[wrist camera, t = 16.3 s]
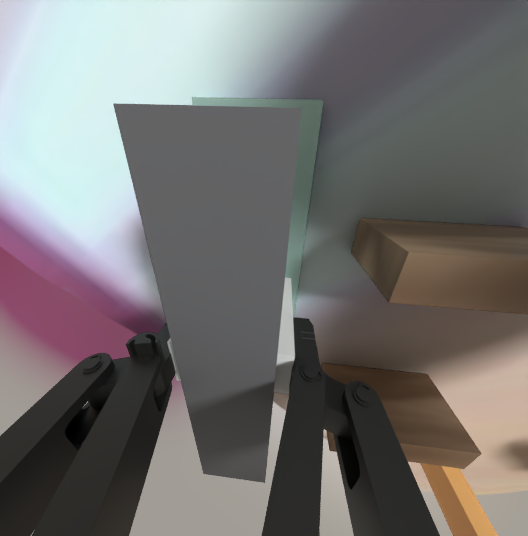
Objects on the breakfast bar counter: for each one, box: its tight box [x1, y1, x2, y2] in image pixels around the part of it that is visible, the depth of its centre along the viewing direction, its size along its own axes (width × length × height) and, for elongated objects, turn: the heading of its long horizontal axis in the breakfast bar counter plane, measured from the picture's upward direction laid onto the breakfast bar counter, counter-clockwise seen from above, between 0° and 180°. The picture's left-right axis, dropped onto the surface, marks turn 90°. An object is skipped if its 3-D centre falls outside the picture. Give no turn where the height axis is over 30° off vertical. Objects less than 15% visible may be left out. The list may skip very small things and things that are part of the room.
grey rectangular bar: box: [114, 104, 302, 483], centre depth 10 cm, size 19×4×4 cm, turn 178°
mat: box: [192, 97, 324, 317], centre depth 16 cm, size 23×7×1 cm, turn 178°
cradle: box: [322, 218, 528, 469], centre depth 14 cm, size 17×10×6 cm, turn 178°
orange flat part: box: [319, 463, 498, 536], centre depth 16 cm, size 3×14×11 cm, turn 88°
